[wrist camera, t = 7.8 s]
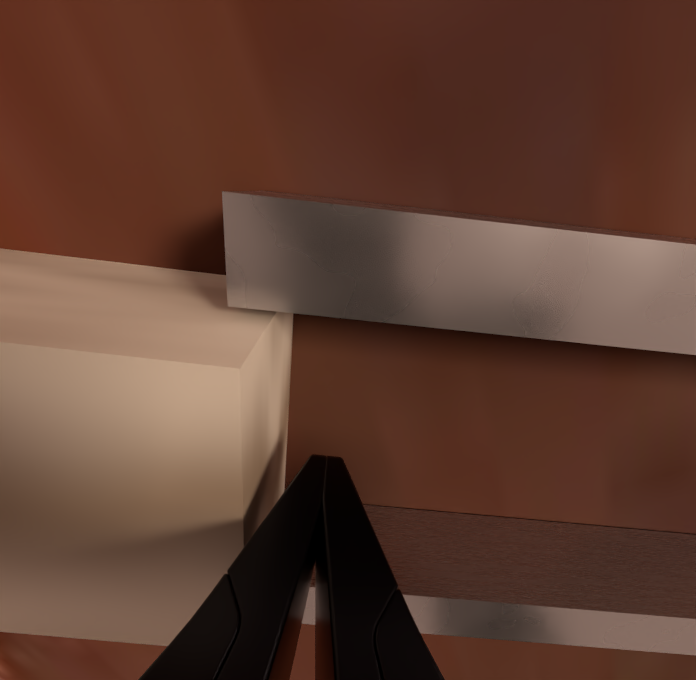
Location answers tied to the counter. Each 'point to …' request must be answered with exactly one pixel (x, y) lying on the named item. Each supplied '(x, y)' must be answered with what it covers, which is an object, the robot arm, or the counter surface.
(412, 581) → the chute
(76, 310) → the block
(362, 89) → the counter surface
